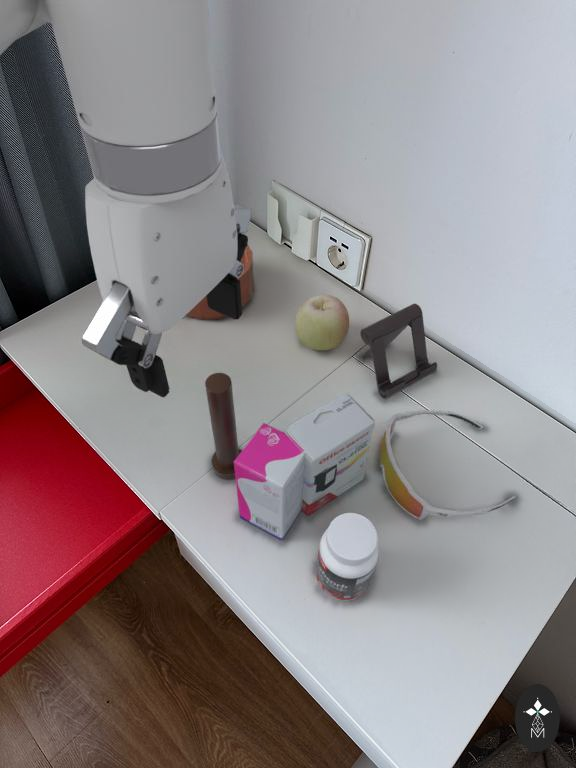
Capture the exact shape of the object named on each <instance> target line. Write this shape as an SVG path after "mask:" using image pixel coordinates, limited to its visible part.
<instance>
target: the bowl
mask: <svg viewBox="0 0 576 768" xmlns="http://www.w3.org/2000/svg"><path fill="white" fill-rule="evenodd" d="M241 263H242V264H244V271H243V274H242V275H241V277H239V278H237V280H240V286H241V300H242V309H243V308H244V307H245V306H246V304H247V303H248V302H249V301H250V300H251V298H252V296H253V293H254V291H255V282H254V281H255V280H254V258H253V251H252V249H251V247H250V245H249V244H248V245H247V247H246V249H245V251H244V254H243V256H242V259H241ZM185 316H187V317H189V318H193V319H196V320H206V321H207V320H208V321H209V320H219V319H224V318H227V317H228V316H226V315H223V314H221V313H219V312H217V311H214V310H212V309H210V308H209V307H208V303H207V295H206V296H205V297H204V298H203V299H202V300H201V301H200V302H199V303H198V304H197V305H196V306H195V307H194V308H193V309H192V310H191V311H190V312H189V313H187V314H186V315H185Z"/></svg>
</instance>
